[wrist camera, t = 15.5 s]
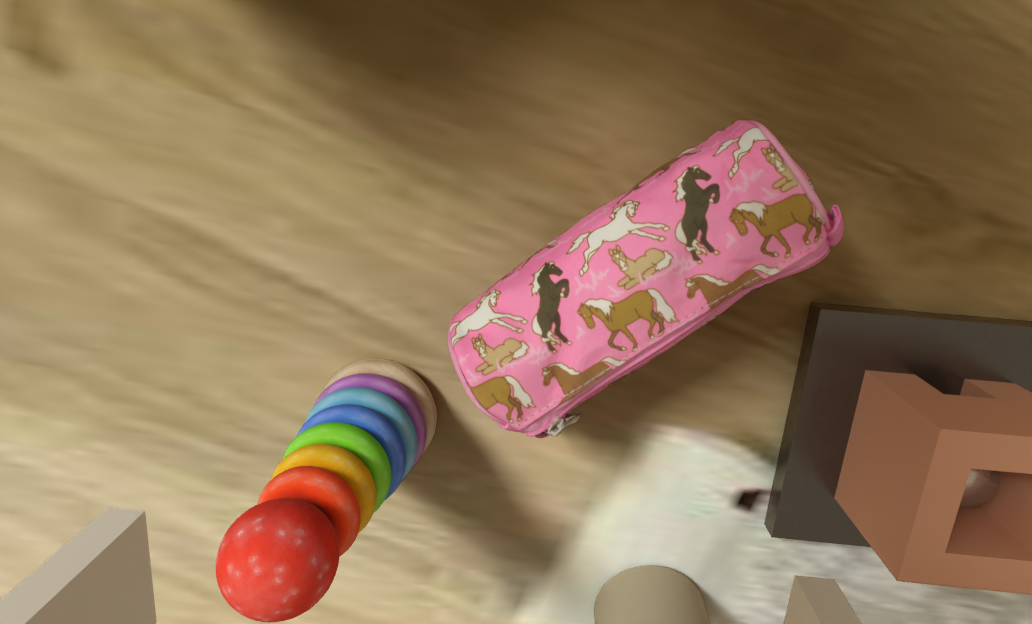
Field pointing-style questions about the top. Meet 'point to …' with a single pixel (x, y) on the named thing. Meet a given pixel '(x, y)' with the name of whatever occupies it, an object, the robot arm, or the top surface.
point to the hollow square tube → (941, 480)
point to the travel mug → (650, 598)
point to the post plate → (835, 392)
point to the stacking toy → (326, 489)
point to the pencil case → (639, 278)
